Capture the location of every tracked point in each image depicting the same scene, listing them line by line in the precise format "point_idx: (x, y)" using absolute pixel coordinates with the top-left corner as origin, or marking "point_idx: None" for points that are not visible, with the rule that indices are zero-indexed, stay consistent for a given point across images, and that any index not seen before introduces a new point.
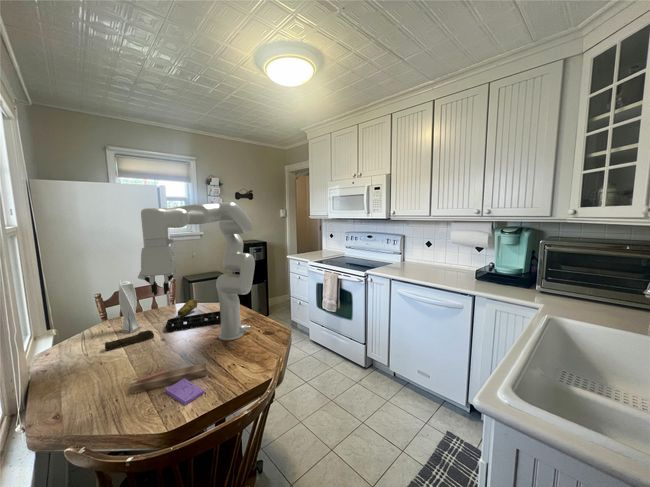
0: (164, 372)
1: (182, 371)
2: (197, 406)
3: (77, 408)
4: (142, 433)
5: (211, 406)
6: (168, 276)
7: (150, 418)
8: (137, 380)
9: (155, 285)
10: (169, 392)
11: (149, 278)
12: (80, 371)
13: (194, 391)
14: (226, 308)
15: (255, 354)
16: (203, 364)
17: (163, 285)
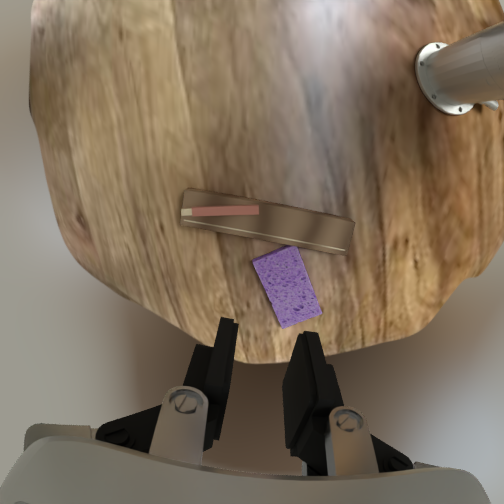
0: (254, 214)
1: (296, 228)
2: None
3: (102, 212)
4: None
5: None
6: (363, 465)
7: None
8: (193, 213)
9: (218, 438)
10: (259, 274)
11: (144, 448)
12: (86, 55)
13: (304, 307)
14: (497, 84)
15: (455, 230)
16: (348, 226)
17: (286, 440)
